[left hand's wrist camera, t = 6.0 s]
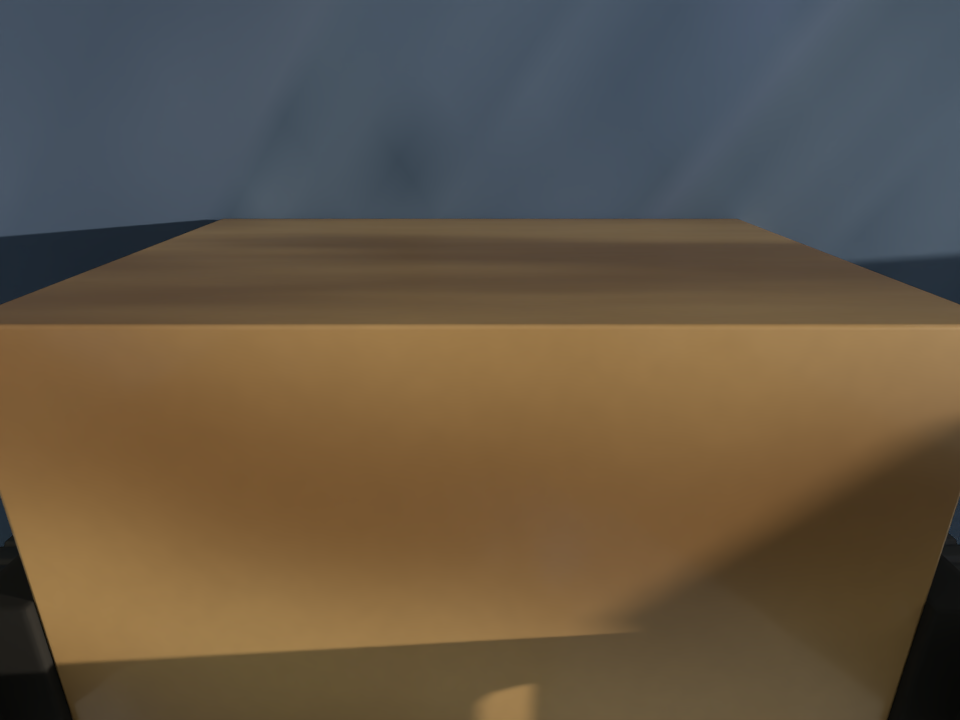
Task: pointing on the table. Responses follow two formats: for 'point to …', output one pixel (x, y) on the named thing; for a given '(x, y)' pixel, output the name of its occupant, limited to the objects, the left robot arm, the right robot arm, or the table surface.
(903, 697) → the left robot arm
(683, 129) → the table surface
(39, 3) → the table surface
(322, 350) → the wide beam
